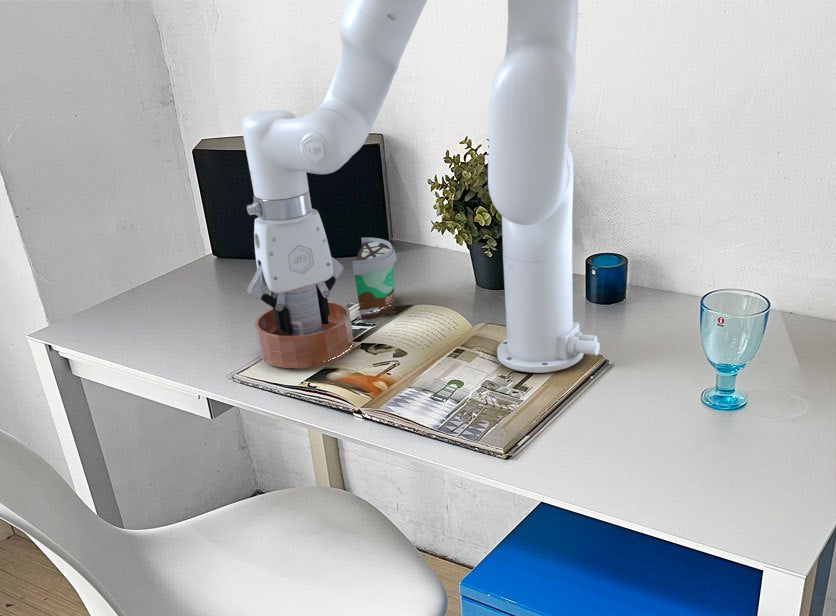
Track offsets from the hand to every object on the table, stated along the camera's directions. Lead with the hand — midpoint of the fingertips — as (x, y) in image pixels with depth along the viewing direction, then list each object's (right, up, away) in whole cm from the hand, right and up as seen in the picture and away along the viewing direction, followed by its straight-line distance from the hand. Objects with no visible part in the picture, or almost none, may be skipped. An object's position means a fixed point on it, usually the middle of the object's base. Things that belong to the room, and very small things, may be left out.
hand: (304, 325), depth 147 cm
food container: (+10, +6, +16) cm, 20 cm away
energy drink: (0, -3, +2) cm, 3 cm away
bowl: (0, -3, +2) cm, 4 cm away
